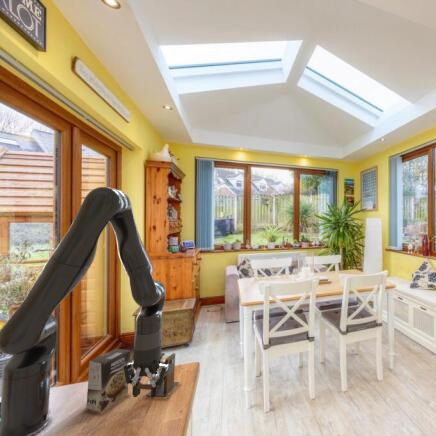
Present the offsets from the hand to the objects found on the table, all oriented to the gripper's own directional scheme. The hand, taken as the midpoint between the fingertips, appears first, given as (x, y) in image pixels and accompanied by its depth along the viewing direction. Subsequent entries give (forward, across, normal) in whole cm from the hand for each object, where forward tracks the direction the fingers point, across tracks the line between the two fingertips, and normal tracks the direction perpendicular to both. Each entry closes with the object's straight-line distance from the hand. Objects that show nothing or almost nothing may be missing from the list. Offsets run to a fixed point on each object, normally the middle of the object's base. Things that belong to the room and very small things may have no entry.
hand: (145, 395), depth 84 cm
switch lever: (-4, 0, +5) cm, 6 cm away
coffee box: (+5, -14, +2) cm, 15 cm away
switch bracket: (+5, 0, +9) cm, 10 cm away
